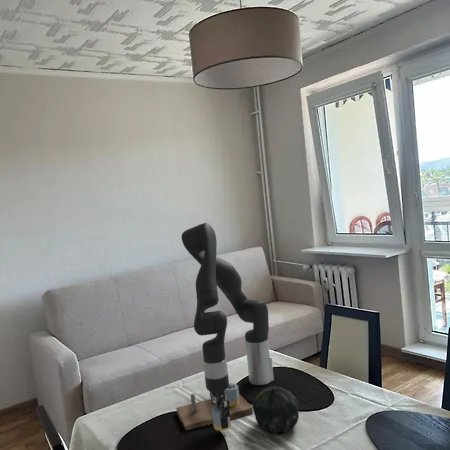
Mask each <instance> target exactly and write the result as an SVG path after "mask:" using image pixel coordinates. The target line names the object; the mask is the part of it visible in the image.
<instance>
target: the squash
mask: <svg viewBox="0 0 450 450" xmlns="http://www.w3.org/2000/svg"><path fill="white" fill-rule="evenodd" d="M252 410H253V415H254V417H255V421H256V422H257V424H258V425H259V426H260V427H261V428H263V429H265V430H267V431H268V430H270V431H271V433H272V434H275V435H276V434H278V433H279V432H281V433H286V432H288V431H289V429H292V428H293V427H295V426H296V425H297V423H298V422H299V416H300V415H299V411H300V405H299V401H298V399H297V397H296V396H295V395H294V394H293V393H292V392H291V391H289V390H287V389H286V388H283V387H281V386H277V385H276V386H275V385H274V386H269V387H265V388H263V389H262V390H261V392H259V394H257V395H256V397H255V399H254V400H253V403H252Z"/></svg>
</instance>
